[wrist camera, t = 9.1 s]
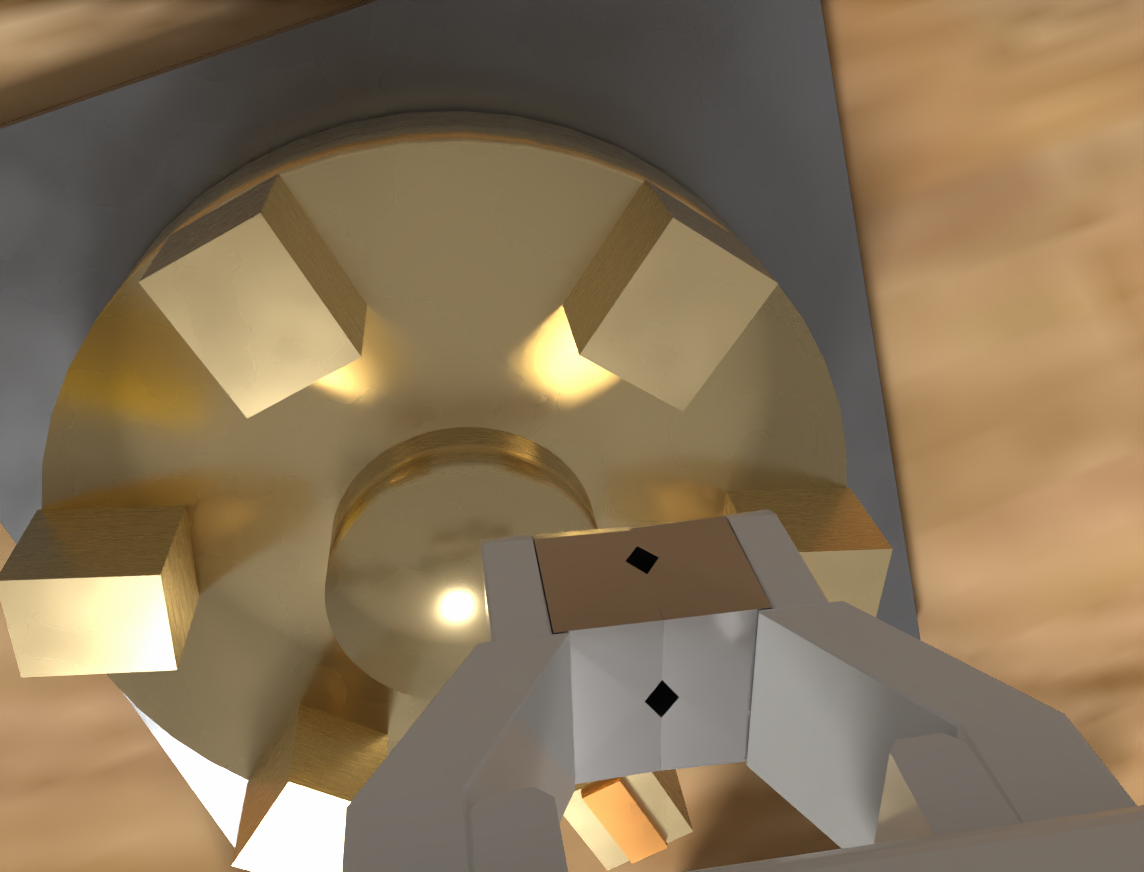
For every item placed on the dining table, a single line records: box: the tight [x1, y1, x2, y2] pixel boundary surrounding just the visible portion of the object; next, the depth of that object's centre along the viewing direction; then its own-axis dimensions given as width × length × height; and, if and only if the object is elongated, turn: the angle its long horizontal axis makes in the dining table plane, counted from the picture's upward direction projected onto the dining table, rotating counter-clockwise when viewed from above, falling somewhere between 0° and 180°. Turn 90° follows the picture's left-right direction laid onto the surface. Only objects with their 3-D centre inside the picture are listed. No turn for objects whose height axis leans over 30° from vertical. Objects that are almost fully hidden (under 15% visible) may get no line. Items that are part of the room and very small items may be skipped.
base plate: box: [0, 0, 920, 847], centre depth 27 cm, size 22×22×1 cm
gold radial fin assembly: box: [0, 111, 892, 872], centre depth 24 cm, size 18×18×6 cm
